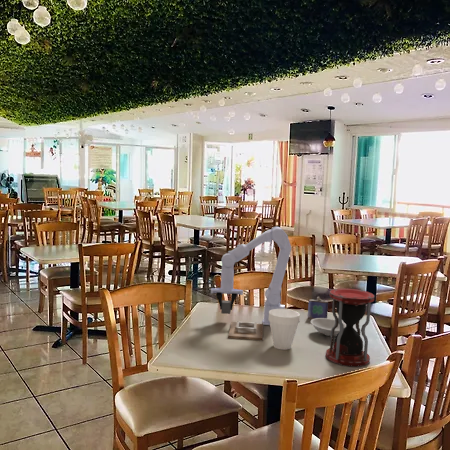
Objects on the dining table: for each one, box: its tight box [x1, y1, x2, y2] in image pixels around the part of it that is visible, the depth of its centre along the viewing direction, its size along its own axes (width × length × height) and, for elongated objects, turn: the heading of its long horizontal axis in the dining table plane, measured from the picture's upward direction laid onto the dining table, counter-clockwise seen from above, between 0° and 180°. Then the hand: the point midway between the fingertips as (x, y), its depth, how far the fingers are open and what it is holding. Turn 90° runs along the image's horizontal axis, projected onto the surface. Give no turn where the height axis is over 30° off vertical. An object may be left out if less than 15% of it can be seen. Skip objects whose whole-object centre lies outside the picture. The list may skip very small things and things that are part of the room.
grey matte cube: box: [221, 299, 232, 315], centre depth 219 cm, size 4×4×5 cm
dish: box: [309, 317, 346, 337], centre depth 206 cm, size 18×14×5 cm
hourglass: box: [325, 288, 375, 367], centre depth 179 cm, size 16×16×25 cm
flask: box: [307, 296, 329, 320], centre depth 230 cm, size 9×3×11 cm, turn 76°
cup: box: [268, 308, 301, 351], centre depth 189 cm, size 12×12×14 cm
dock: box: [227, 321, 264, 341], centre depth 206 cm, size 14×19×3 cm
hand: (226, 309), depth 219 cm, fingers closed on grey matte cube, 4 cm apart
